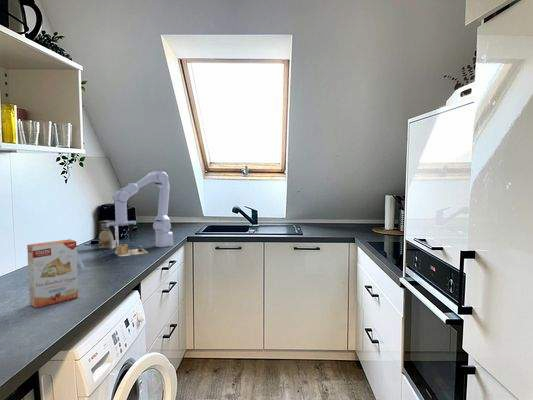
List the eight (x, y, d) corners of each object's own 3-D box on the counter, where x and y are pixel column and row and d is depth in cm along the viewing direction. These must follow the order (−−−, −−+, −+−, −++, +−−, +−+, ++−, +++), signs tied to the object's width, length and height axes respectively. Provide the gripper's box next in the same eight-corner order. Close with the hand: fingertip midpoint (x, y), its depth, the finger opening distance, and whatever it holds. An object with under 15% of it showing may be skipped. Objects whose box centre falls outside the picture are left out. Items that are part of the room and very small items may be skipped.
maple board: (142, 250, 210) (142, 248, 210) (148, 254, 199) (148, 252, 199) (114, 253, 203) (114, 251, 203) (119, 258, 192) (118, 256, 192)
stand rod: (141, 250, 205) (141, 245, 204) (142, 251, 203) (142, 245, 203) (137, 251, 204) (137, 245, 203) (138, 251, 202) (138, 246, 202)
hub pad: (128, 251, 204) (128, 250, 204) (131, 253, 197) (131, 253, 197) (114, 252, 200) (114, 252, 200) (116, 255, 194) (116, 255, 194)
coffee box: (98, 249, 213) (97, 221, 212) (106, 247, 219) (105, 219, 218) (112, 250, 210) (111, 222, 209) (119, 247, 217) (118, 220, 215)
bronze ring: (127, 251, 202) (126, 244, 202) (129, 253, 198) (129, 245, 197) (115, 252, 200) (115, 245, 199) (117, 254, 195) (117, 247, 194)
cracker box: (35, 309, 123) (31, 246, 121) (29, 304, 127) (25, 244, 125) (79, 298, 134) (76, 240, 132) (72, 294, 138) (70, 238, 136)
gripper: (107, 215, 190) (108, 241, 191) (137, 213, 197) (138, 238, 198) (105, 214, 196) (106, 239, 197) (134, 212, 203) (135, 236, 204)
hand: (122, 239), depth 198 cm, fingers open, 7 cm apart
